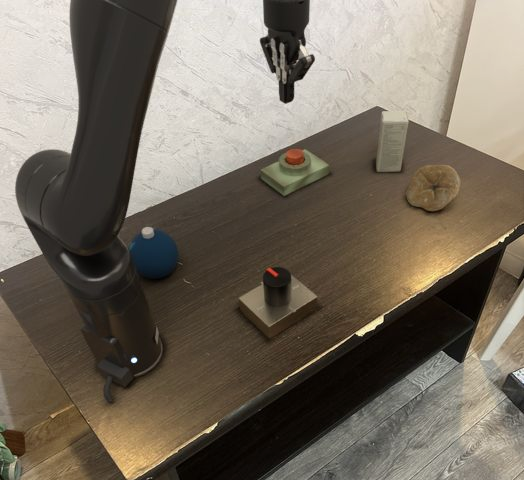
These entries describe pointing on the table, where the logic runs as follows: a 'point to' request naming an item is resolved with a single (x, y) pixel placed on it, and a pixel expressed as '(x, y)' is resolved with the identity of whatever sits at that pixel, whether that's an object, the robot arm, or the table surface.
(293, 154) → the button
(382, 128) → the box
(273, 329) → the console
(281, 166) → the button block
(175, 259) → the christmas ornament
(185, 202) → the table surface
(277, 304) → the dial
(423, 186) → the fossil
